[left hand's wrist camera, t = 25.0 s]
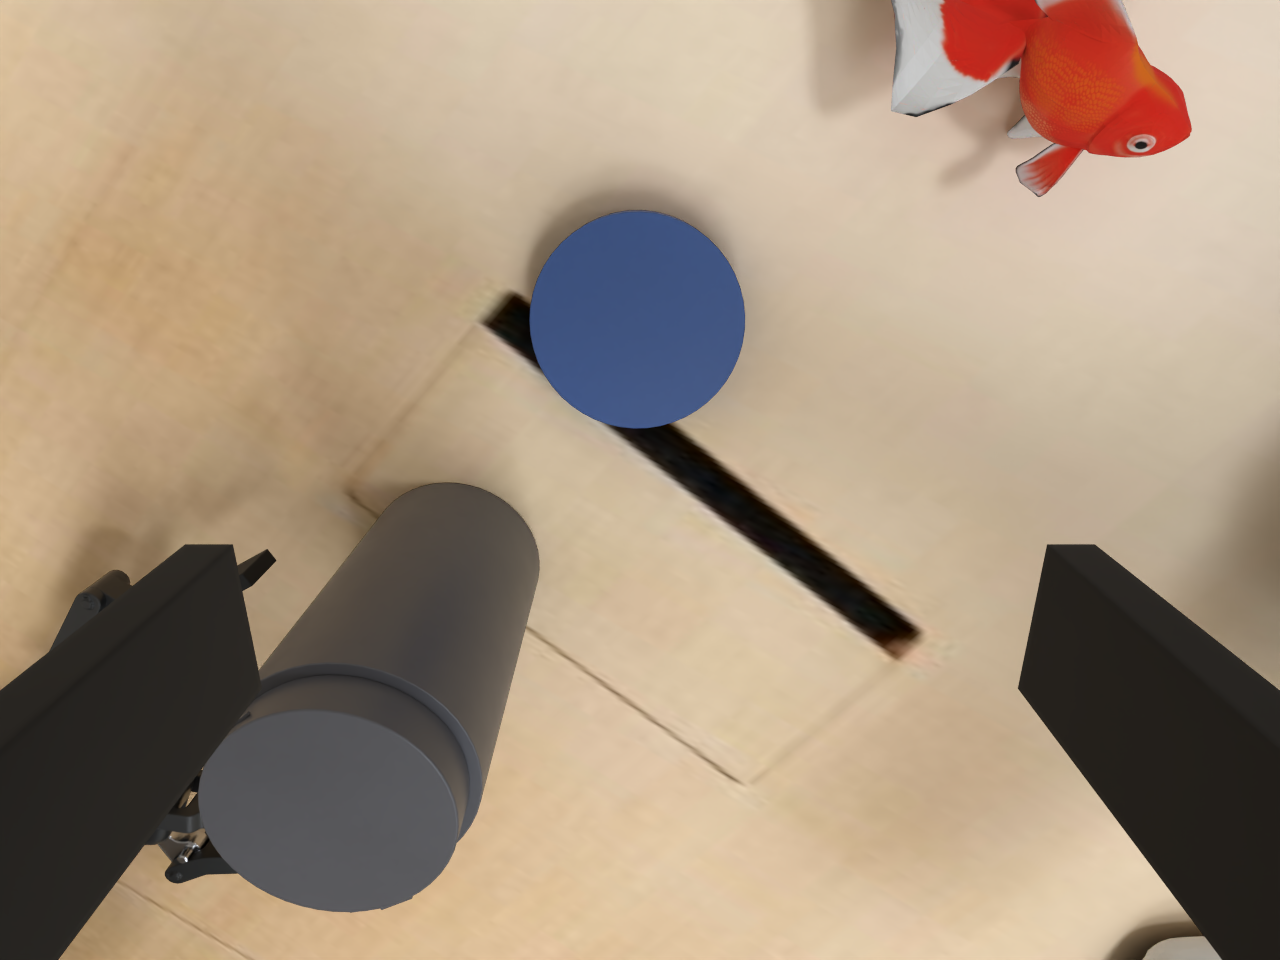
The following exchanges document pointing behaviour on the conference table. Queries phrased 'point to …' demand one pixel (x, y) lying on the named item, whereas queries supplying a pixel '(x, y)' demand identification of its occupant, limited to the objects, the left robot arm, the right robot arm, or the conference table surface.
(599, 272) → the lid
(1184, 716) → the left robot arm
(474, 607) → the jar
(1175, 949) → the projector
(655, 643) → the conference table surface
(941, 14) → the fish
